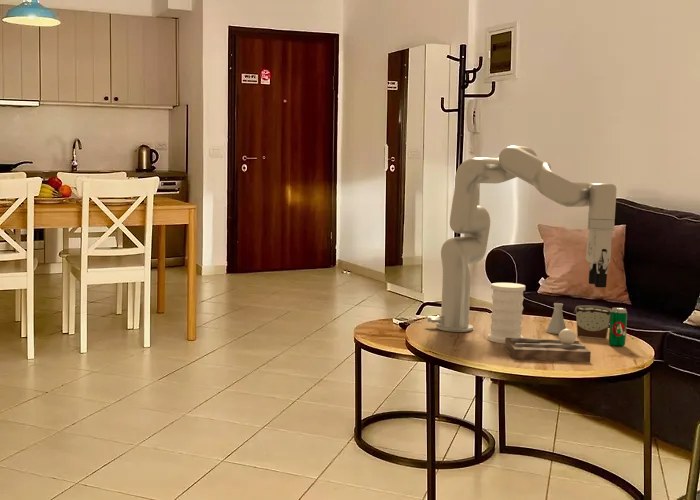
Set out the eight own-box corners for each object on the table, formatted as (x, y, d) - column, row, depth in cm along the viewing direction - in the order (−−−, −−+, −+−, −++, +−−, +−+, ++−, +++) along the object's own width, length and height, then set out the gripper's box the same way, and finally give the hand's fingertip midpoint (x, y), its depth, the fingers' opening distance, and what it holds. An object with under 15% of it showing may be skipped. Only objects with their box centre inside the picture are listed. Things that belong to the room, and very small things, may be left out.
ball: (560, 346, 239) (561, 330, 238) (556, 343, 244) (557, 326, 243) (577, 347, 239) (578, 330, 238) (572, 343, 244) (573, 327, 243)
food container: (611, 336, 272) (613, 307, 271) (611, 339, 266) (613, 309, 265) (573, 332, 276) (575, 303, 275) (572, 336, 270) (574, 306, 269)
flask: (565, 331, 279) (567, 302, 278) (569, 335, 272) (571, 306, 270) (544, 330, 279) (546, 301, 278) (547, 334, 272) (549, 305, 271)
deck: (514, 359, 234) (514, 346, 234) (505, 347, 250) (505, 335, 250) (590, 361, 234) (590, 349, 233) (576, 349, 250) (576, 337, 249)
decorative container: (501, 344, 253) (504, 288, 251) (480, 337, 264) (483, 283, 262) (531, 342, 258) (534, 287, 256) (509, 335, 269) (512, 281, 267)
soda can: (613, 343, 261) (616, 306, 260) (628, 346, 257) (630, 309, 256) (605, 345, 257) (607, 308, 256) (619, 348, 254) (622, 310, 252)
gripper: (580, 222, 246) (577, 281, 248) (596, 226, 229) (592, 289, 231) (605, 223, 246) (601, 281, 248) (622, 227, 229) (618, 290, 231)
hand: (597, 284), depth 239 cm, fingers open, 5 cm apart
